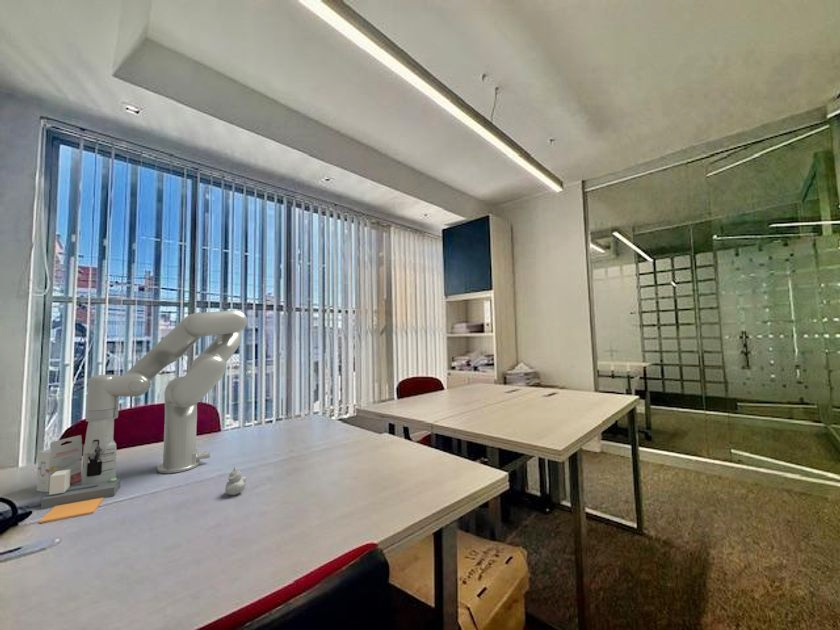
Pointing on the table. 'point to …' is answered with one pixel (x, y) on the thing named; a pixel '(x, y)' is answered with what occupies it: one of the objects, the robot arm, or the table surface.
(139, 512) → the table surface
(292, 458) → the table surface
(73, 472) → the ink cartridge box
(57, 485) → the cream rectangular block
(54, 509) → the pad
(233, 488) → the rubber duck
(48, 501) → the gray flat block
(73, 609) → the table surface
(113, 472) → the supplement box
